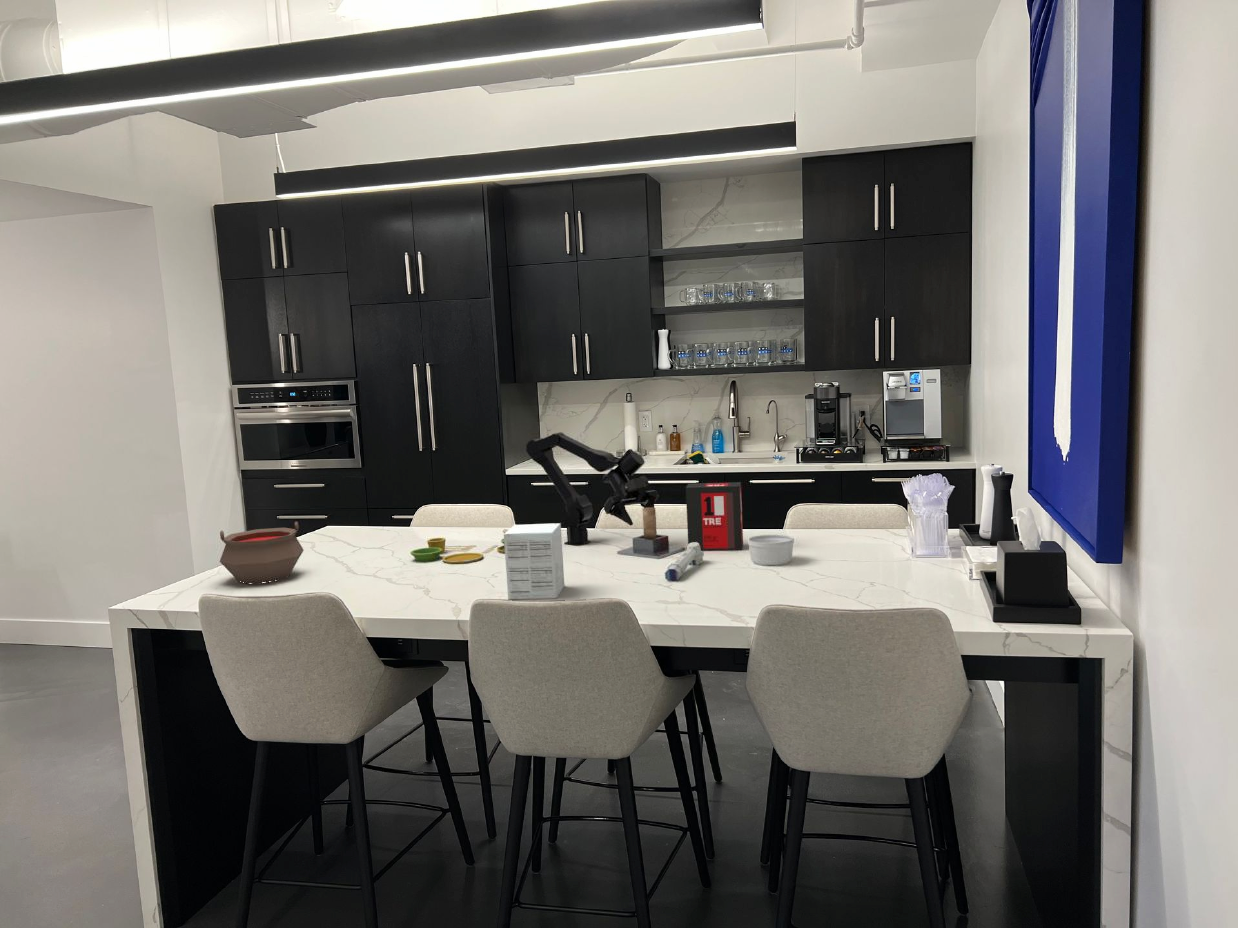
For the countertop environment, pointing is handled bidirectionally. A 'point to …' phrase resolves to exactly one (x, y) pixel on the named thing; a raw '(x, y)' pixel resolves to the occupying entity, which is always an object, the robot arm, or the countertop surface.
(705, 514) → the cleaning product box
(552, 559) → the supplement box
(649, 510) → the rail post
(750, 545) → the ramekin
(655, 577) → the countertop surface
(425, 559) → the tableware set
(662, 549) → the grey square socket base
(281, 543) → the brown cooking pot
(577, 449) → the robot arm
